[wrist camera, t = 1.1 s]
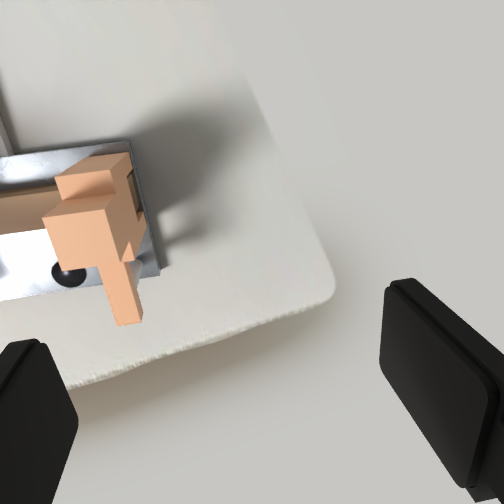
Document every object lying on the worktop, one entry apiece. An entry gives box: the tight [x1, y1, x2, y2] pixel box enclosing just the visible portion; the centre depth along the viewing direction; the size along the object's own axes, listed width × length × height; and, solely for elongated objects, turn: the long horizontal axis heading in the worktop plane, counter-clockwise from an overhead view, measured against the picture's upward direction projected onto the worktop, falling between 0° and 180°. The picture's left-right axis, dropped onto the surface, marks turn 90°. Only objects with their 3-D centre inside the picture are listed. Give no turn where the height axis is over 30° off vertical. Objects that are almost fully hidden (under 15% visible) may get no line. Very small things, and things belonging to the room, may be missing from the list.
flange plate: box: [0, 140, 161, 301], centre depth 27 cm, size 11×18×1 cm, turn 96°
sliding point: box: [42, 152, 147, 326], centre depth 23 cm, size 10×3×9 cm, turn 6°
